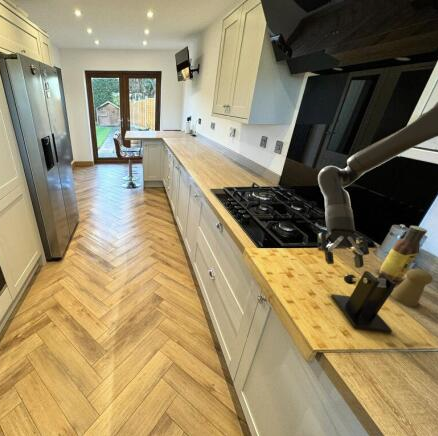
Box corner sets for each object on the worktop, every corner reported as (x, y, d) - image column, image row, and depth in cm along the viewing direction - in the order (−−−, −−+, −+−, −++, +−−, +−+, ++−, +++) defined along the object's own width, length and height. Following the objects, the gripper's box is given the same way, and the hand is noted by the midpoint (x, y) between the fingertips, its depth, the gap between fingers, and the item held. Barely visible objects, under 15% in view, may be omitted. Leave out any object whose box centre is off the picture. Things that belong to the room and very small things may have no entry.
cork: (389, 297, 76) (407, 270, 71) (392, 289, 80) (409, 263, 75) (415, 309, 72) (436, 281, 67) (417, 300, 75) (437, 273, 71)
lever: (341, 283, 75) (341, 273, 76) (352, 284, 75) (352, 274, 76) (375, 288, 63) (374, 275, 63) (388, 289, 62) (388, 277, 63)
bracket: (330, 296, 75) (348, 261, 69) (361, 300, 74) (382, 265, 68) (353, 328, 65) (377, 290, 59) (390, 333, 64) (418, 295, 57)
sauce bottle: (398, 284, 82) (431, 235, 73) (375, 274, 87) (403, 227, 78) (402, 277, 86) (434, 229, 77) (380, 268, 90) (407, 222, 82)
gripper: (323, 213, 79) (328, 261, 74) (370, 217, 77) (378, 267, 72) (311, 220, 86) (314, 264, 81) (353, 224, 85) (359, 270, 79)
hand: (344, 265), depth 77 cm, fingers open, 8 cm apart
